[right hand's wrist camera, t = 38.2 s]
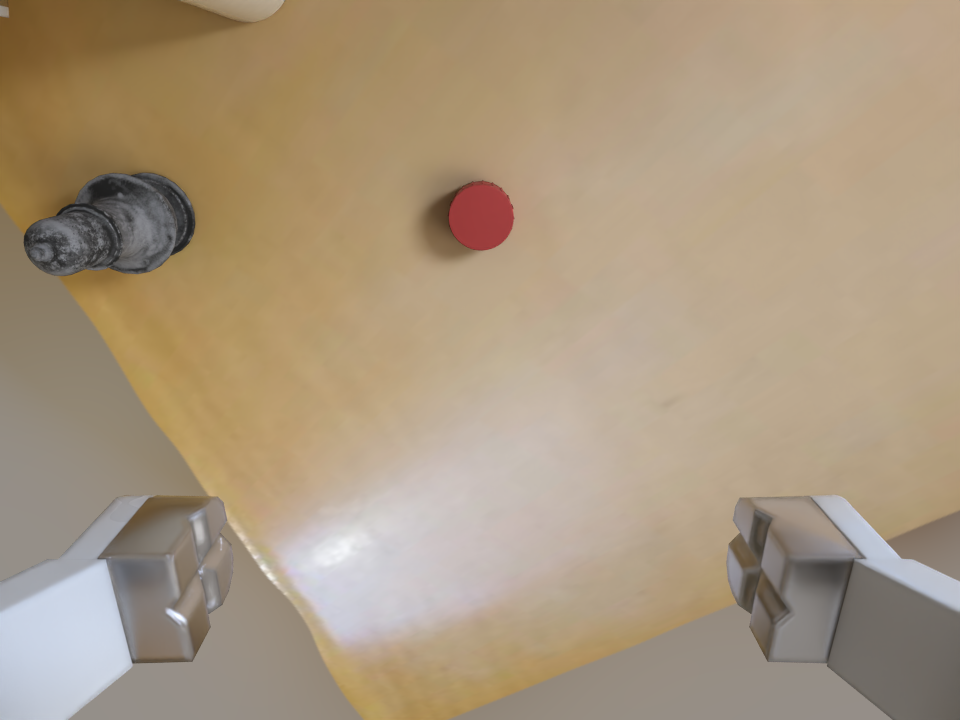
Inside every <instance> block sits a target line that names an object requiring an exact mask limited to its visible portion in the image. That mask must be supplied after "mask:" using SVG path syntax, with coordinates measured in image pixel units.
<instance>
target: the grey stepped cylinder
mask: <svg viewBox="0 0 960 720" xmlns="http://www.w3.org/2000/svg"><path fill="white" fill-rule="evenodd" d="M194 228H195V215H194V211H193V208H192V205H191V202H190V201H189V199H188V198H187V196H186V194H185V193H184V192H183V191H182V190H181V189H180V188H179V187H178V186H177V185H176V184H175V183H174V182H172V181H170V180H169V179H167V178H166V177H163V176H160V175H157V174H152V173H140V174H135V175H131V176H130V175H127V174H118V173H110V174H105V175H101V176H98V177H96V178H94V179H92V180H91V181H89V182H88V183H87V184H86V185H85V186H84V187H83V188H82V189H81V190H80V192H79V194H78V196H77V199H76V201H75V203H74V204H69V205H67V206H66V207H64V208H62V209H61V210H60V211H59V212H58V213H57V215H56V216H54V217H50V218H46V219H42V220H39V221H37V222H35V223H34V224H32V225H31V226H30V227H29V228H28V229H27V231H26V233H25V236H24V247H25V251H26V253H27V256H28V257H29V259H30V260H31V261H32V263H33V264H34V265H35V266H37V267H38V268H39V269H40V270H42V271H44V272H46V273H48V274H51V275H55V276H67V275H72V274H74V273H77V272H79V271H82V270H84V269H88V270H103V269H107V268H108V267H109V268H111V269H113V270H116V271H119V272H122V273H129V274H141V273H146V272H150V271H152V270H154V269H156V268H158V267H160V266H161V265H162V264H163V263H164V262H165V261H166V260H167V259H168V258H169V256H170V255H174V254H175V253H177V252H179V251H181V250H183V249H184V248H185V247H186V246H187V245H188V244H189V242H190V240H191V238H192V236H193V234H194Z"/></svg>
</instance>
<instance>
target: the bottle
mask: <svg viewBox="0 0 960 720" xmlns="http://www.w3.org/2000/svg"><path fill="white" fill-rule="evenodd" d="M179 1H182V2H185V3H188V4H190V5H193V6H196V7H199V8H202V9H205V10H207V11H210V12H213V13H216V14H219V15H221V16H224V17H227V18H230V19H233V20H236V21H240V22H257V21H261V20H264V19H266V18H268V17H270V16H271V15H273V14H274V13H275V12H276V11H277V10H278V9H279V8H280V7H281V6H282V4H283V3H284V1H285V0H179Z"/></svg>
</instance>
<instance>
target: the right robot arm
mask: <svg viewBox="0 0 960 720" xmlns="http://www.w3.org/2000/svg"><path fill="white" fill-rule="evenodd" d="M226 521H227V517H226V512H225V507H224V503H223V501H222V500H221V499H220V498H218V497H209V496H160V495H157V496H153V495H125V496H121V497H117V498H116V499H115V500H114V501H113V502H112V503H111V504H110V505H109V506H108V507H107V508H106V509H105V510H104V511H103V512H102V513H101V514H100V516H99V517H98V518H97V519H96V520H95V521H94V522H93V523H92V524H91V525H90V526H89V527H88V528H87V529H86V530H85V531H84V532H83V533H82V535H81V536H80V537H79V538H78V539H77V540H76V541H75V542H74V543H73V544H72V545H71V546H70V547H69V548H68V549H67V550H66V552H65V553H64V554H63V555H62V556H61V557H60V558H59V559H47V560H45V561H43V562H41V563H39V564H37V565H34V566H32V567H30V568H28V569H26V570H24V571H22V572H20V573H18V574H15V575H13V576H11V577H9V578H7V579H5V580H3V581H1V582H0V720H68V719H69V718H70V717H71V716H73V715H74V714H75V713H76V712H78V711H79V710H80V709H81V708H82V707H84V706H85V705H86V704H87V703H89V702H90V701H91V700H92V699H93V698H95V697H96V696H97V695H98V694H100V693H101V692H102V691H103V690H105V689H106V688H107V687H108V686H109V685H111V684H112V683H113V682H114V681H116V680H117V679H118V678H119V677H120V676H122V675H123V674H124V673H125V672H127V671H128V670H129V669H130V668H132V666H133V664H132V663H163V662H192V661H193V659H194V658H195V656H196V654H197V652H198V650H199V648H200V646H201V644H202V642H203V640H204V639H205V636H206V635H207V633H208V631H209V629H210V621H209V615H208V614H210V613H211V612H212V611H214V610H215V609H217V608H218V607H220V606H221V605H222V604H223V602H224V600H225V598H226V596H227V594H228V592H229V588H230V584H231V579H232V575H233V553H232V546H231V543H230V542H229V541H228V540H227V539H226V538H225V537H224V536H223V535H222V534H221V533H220V531H221V530H222V528H223V526H224V525H225V523H226ZM733 521H734V523H735V525H736V526H737V528H738V530H739V531H740V533H739V534H738V535H737V536H736V537H735V538H734V539H733V540H732V541H731V542H730V543H729V546H728V554H727V574H728V581H729V585H730V588H731V591H732V594H733V596H734V598H735V600H736V602H737V604H738V605H739V606H740V607H742V608H743V609H745V610H746V611H748V612H749V613H750V614H752V615H751V621H750V626H749V627H750V629H751V631H752V633H753V635H754V637H755V638H756V640H757V642H758V644H759V646H760V648H761V650H762V652H763V654H764V655H765V657H766V659H767V661H768V662H796V663H828V664H827V667H829V668H830V669H831V670H832V671H834V672H835V673H836V674H837V675H839V676H840V677H841V678H842V679H843V680H845V681H846V682H847V683H848V684H850V685H851V686H852V687H853V688H854V689H856V690H857V691H858V692H859V693H861V694H862V695H863V696H864V697H865V698H867V699H868V700H869V701H870V702H872V703H873V704H874V705H875V706H877V707H878V708H879V709H880V710H881V711H883V712H884V713H885V714H886V715H888V716H889V717H890V718H891V719H892V720H960V582H959V581H957V580H955V579H953V578H951V577H949V576H947V575H944V574H942V573H940V572H938V571H936V570H934V569H932V568H930V567H928V566H926V565H923V564H921V563H919V562H917V561H915V560H913V559H901V558H900V557H899V556H898V555H897V554H896V553H895V551H894V550H893V549H892V548H891V547H890V546H889V545H888V544H887V543H886V542H885V541H884V540H883V539H882V538H881V537H880V536H879V534H878V533H877V532H876V531H875V530H874V529H873V528H872V527H871V526H870V525H869V524H868V523H867V522H866V521H865V520H864V519H863V518H862V516H861V515H860V514H859V513H858V512H857V511H856V510H855V509H854V508H853V507H852V506H851V505H850V504H849V503H848V502H847V501H846V499H845V498H842V497H840V496H838V495H816V496H795V497H749V498H739V500H738V502H737V504H736V506H735V511H734V517H733Z"/></svg>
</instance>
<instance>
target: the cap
mask: <svg viewBox="0 0 960 720" xmlns="http://www.w3.org/2000/svg"><path fill="white" fill-rule="evenodd" d="M450 206H451V207H450V210H449V214H448V216H449V226H450V228H451V231H452V233H453V235H454V236H455V238H456V239H457V240H458V241H459V242H460V243H461V244H463V245H464V246H466V247H468V248H471V249H474V250H488V249H492V248H494V247H496V246H498V245H499V244H501V243H502V242H503V241H504V240H505V239H506V238H507V237H508V235H509V233H510V231H511V230H512V226H513V219H514V216H513V206H512V204H511V203H510V200H509V196H508V195H506V193H505V192H504V191H503V190H502V188H500V187H498V186H497V185H495V184H493V183H489V182H485V181H483V180H482V181H478V182H472V183H470V184H468V185H466V186H463V188H461V189H460V190H459V191H458V193H457V192H456V194H455V197H454V199H453V201H451V204H450Z"/></svg>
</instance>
